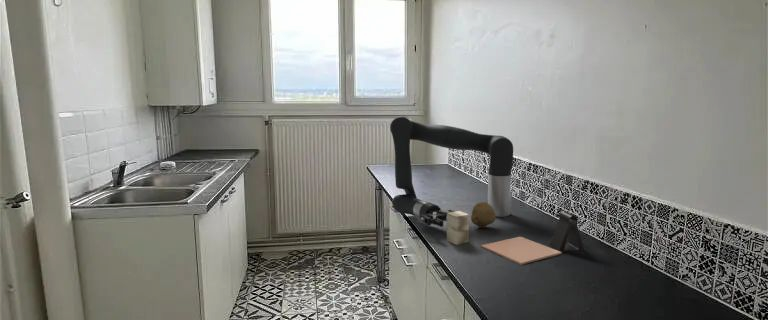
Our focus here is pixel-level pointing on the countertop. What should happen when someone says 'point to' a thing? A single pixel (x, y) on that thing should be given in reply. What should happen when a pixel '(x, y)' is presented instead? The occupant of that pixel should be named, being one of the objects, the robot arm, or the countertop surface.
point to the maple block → (457, 227)
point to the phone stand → (566, 234)
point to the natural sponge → (482, 214)
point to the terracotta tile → (521, 250)
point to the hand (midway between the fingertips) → (452, 222)
